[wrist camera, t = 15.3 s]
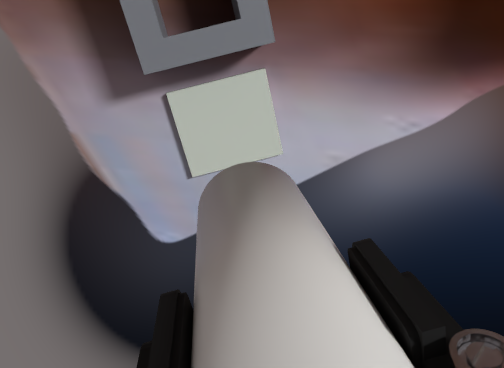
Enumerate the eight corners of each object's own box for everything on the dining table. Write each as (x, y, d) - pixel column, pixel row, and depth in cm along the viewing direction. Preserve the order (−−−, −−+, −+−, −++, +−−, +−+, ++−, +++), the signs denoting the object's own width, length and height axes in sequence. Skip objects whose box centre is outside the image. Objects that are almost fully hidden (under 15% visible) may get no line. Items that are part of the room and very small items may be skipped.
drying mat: (166, 92, 36) (166, 93, 36) (264, 68, 37) (265, 68, 36) (192, 175, 40) (192, 177, 39) (282, 152, 40) (283, 153, 39)
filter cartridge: (181, 176, 17) (23, 1051, 2) (293, 147, 17) (845, 788, 2) (212, 270, 19) (238, 1066, 4) (312, 244, 19) (677, 920, 4)
